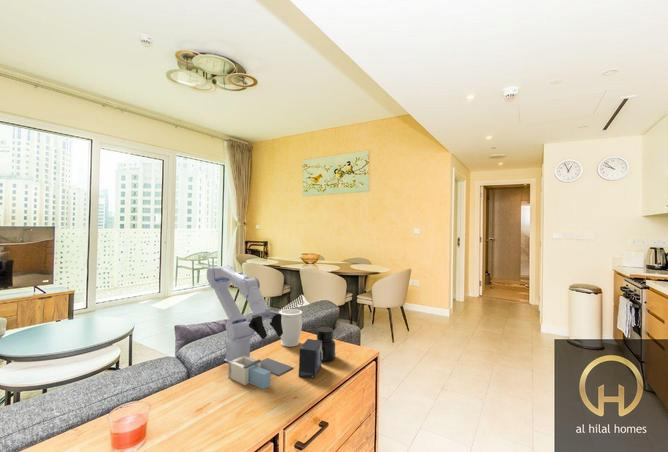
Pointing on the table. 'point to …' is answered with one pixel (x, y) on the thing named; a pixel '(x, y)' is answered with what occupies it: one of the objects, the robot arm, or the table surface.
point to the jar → (291, 327)
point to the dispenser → (241, 368)
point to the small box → (310, 358)
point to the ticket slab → (259, 376)
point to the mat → (275, 366)
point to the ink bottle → (326, 343)
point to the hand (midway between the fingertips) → (273, 336)
